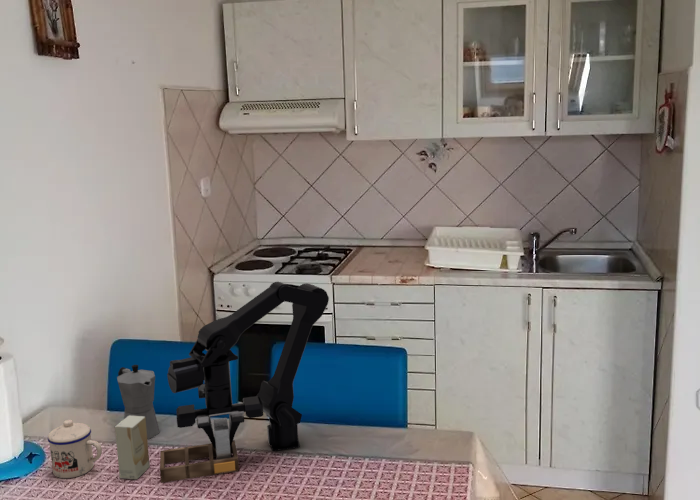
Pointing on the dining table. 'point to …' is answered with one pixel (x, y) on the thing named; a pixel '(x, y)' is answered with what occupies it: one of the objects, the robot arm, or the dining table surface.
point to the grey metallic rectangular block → (222, 438)
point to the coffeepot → (139, 396)
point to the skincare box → (132, 447)
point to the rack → (195, 468)
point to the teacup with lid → (72, 449)
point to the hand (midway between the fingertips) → (222, 446)
